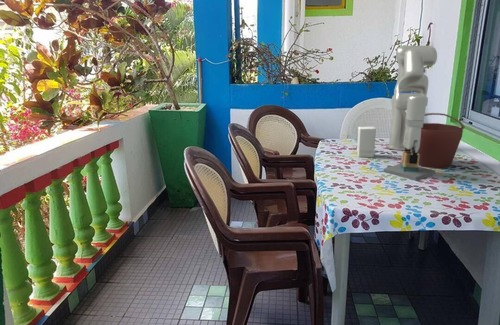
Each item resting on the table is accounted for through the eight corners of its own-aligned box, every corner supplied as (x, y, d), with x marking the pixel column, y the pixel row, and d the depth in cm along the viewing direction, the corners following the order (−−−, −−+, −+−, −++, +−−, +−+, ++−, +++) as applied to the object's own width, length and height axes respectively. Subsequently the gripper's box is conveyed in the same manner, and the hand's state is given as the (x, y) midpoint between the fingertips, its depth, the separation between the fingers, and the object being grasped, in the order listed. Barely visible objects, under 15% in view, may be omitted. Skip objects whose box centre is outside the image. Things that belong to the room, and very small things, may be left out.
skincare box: (371, 154, 207) (374, 126, 203) (374, 157, 201) (376, 128, 196) (356, 154, 208) (358, 126, 204) (358, 157, 201) (360, 128, 197)
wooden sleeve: (400, 167, 178) (402, 150, 176) (414, 167, 177) (416, 151, 175) (403, 171, 172) (405, 154, 170) (417, 171, 171) (419, 154, 169)
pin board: (402, 165, 186) (404, 152, 184) (434, 173, 173) (436, 159, 172) (383, 171, 177) (384, 158, 175) (415, 180, 164) (417, 166, 163)
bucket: (402, 165, 186) (407, 114, 179) (407, 155, 205) (412, 109, 198) (458, 172, 175) (467, 118, 168) (458, 161, 194) (466, 112, 187)
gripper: (400, 120, 178) (397, 155, 182) (410, 126, 161) (406, 165, 166) (417, 120, 177) (413, 156, 181) (429, 127, 160) (424, 166, 165)
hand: (410, 160), depth 173 cm, fingers open, 9 cm apart
